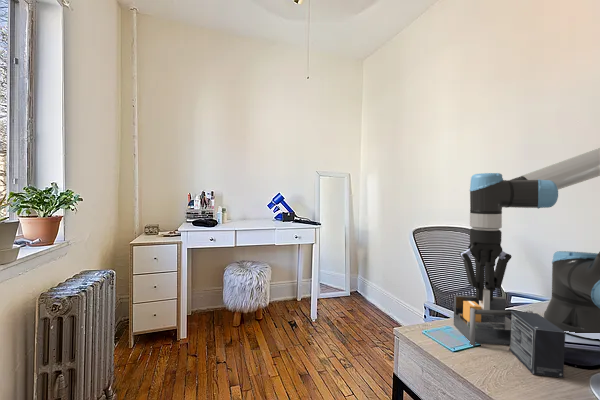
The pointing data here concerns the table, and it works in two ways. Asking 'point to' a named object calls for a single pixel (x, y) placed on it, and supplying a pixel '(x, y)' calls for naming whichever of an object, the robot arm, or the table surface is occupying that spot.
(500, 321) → the dark gray open box
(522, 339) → the small box
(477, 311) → the gray open frame
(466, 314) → the orange cardboard carton
